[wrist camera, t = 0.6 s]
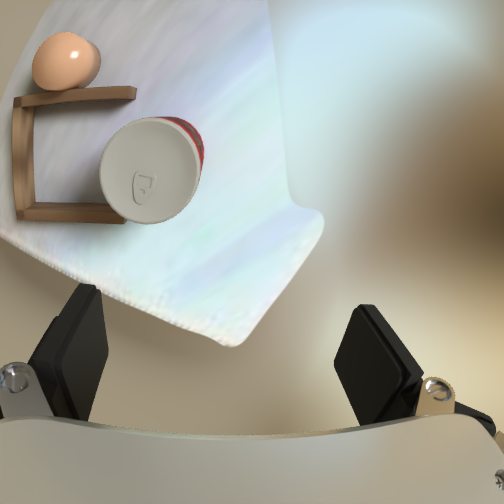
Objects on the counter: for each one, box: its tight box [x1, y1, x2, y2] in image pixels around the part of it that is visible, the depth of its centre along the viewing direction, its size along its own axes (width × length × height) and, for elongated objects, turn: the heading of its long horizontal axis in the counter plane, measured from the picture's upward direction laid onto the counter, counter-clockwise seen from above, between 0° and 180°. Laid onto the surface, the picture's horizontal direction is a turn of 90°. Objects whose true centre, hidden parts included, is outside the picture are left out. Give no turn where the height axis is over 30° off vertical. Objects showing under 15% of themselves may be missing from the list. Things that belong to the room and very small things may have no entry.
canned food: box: [99, 117, 204, 224], centre depth 26 cm, size 8×8×11 cm
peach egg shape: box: [32, 32, 101, 91], centre depth 22 cm, size 6×6×5 cm
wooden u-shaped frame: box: [12, 86, 137, 224], centre depth 27 cm, size 14×14×3 cm
